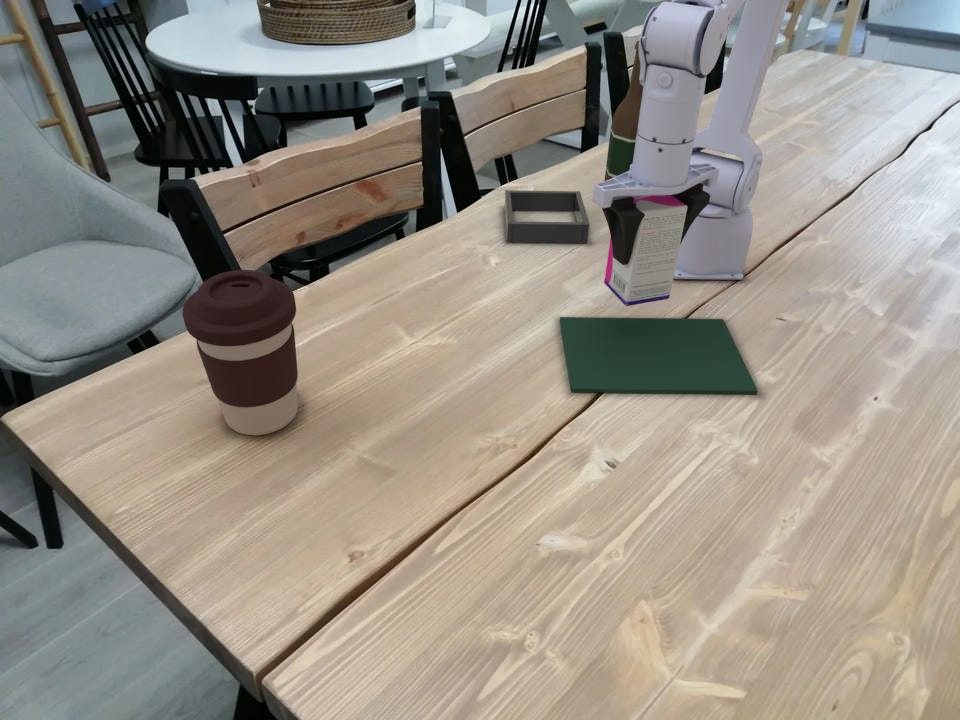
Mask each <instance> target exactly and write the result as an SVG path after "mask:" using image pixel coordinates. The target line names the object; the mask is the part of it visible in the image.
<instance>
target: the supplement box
mask: <svg viewBox="0 0 960 720" xmlns="http://www.w3.org/2000/svg"><path fill="white" fill-rule="evenodd" d="M635 203H636V208H637V209H638V210H640V211H641V212H643V213H644V214H645V216H644V218H643V219H642V221H641V223H640V225H639V228H638V230H637V233H636V236H635V239H634V244H633V249H632V254H631V257H630V260H629V263H628V264H626V265H622V264H621V263H620V262H618V261H617V260H616V259H615V258H613V249H612V241H611V237H610V239H609V246H608V254H607V260H606V268H605V273H604V281H603V283H604V285H605V286H606V287H607V288H608V289H609V290H610V291H611V292H612V293H613V294H614V296H616V297H617V299H618V300H619V301H620V302H621V303H622V304H623V305H624V306H625V307H633V306H637V305H643V304H648V303H653V302H660V301H665V300H668V299H670V297H671V291H672V287H673V282H674V273H675V267H676V262H677V258H678V252H679V247H680V242H681V237H682V232H683V227H684V222H685V217H686V212H687V206H686V205H685V204H684V203H682V202H681V201H679V200H678V199H677V198H675V197H674V196H673V195H652V196H647V197H642V198H637V199H634V204H635Z"/></svg>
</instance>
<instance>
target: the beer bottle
mask: <svg viewBox="0 0 960 720" xmlns="http://www.w3.org/2000/svg"><path fill="white" fill-rule="evenodd" d="M634 49H635V55H634V60H633V66H632V70H631V76H630V81H629V87H628V89H627V92H626V96H625V97H624V98H623V100H622V101H621V102H620V103H619V105H618V106H617V107H616V110H615V112H614V113H613V116H612V120H611V126H610V131H609V132H610V133H609V140H608V148H607V157H606V163H605V165H606V166H605V174H604V180H603V182H604V181H607V180H610V179H612V178H614V177H616V176H618V175H621V174H623V173H625V172H627V171H630V165H631V164H633V157H634V150H635V143H636V136H637V129H638V122H639V115H640V108H641V101H642V94H643V87H644V86H642V85H641V84H640V80H639V77H640V68H641V65H640V59H639V40H636V42H635V45H634Z"/></svg>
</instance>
